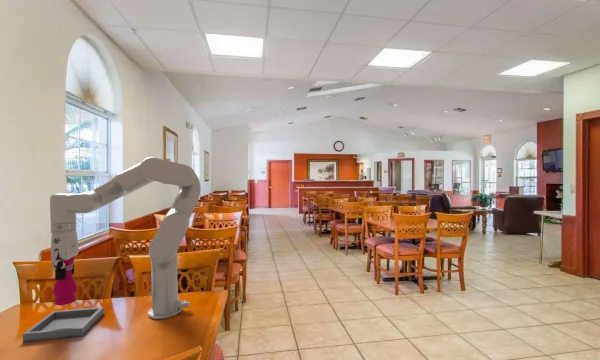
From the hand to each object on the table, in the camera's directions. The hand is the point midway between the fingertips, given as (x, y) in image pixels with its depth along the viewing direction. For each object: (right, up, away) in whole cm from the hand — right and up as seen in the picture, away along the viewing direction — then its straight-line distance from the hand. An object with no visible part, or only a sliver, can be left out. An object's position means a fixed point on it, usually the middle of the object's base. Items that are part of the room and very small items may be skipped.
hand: (65, 276), depth 118 cm
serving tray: (0, -19, +1) cm, 19 cm away
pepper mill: (0, -10, 0) cm, 10 cm away
